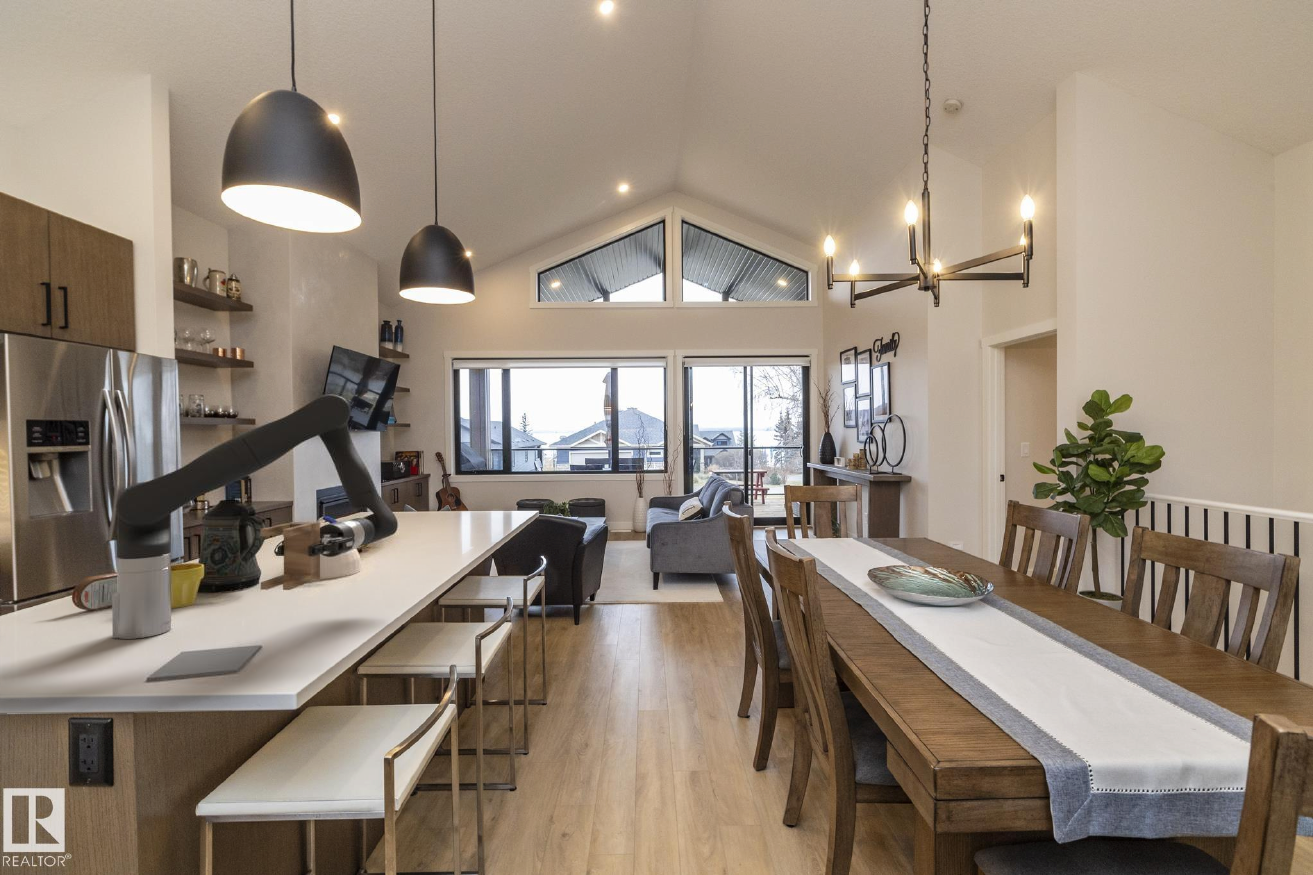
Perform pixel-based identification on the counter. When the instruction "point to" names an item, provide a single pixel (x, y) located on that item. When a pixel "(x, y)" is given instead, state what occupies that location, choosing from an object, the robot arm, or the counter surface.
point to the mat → (205, 663)
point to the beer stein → (230, 548)
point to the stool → (296, 554)
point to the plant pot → (185, 583)
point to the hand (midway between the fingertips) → (294, 551)
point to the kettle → (338, 560)
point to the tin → (95, 592)
